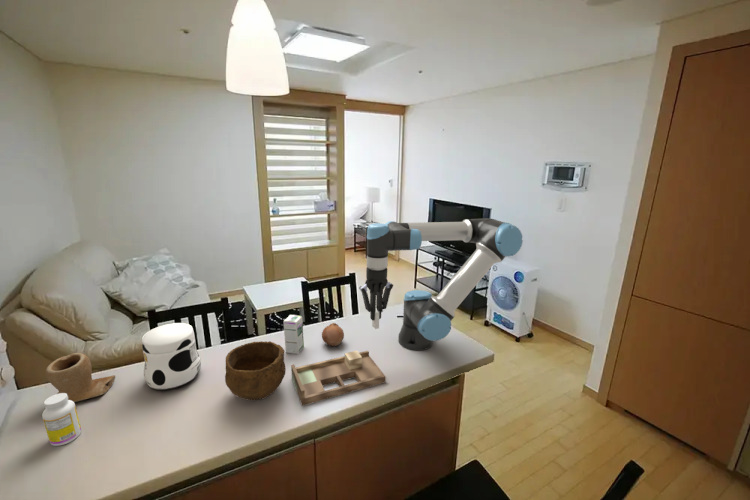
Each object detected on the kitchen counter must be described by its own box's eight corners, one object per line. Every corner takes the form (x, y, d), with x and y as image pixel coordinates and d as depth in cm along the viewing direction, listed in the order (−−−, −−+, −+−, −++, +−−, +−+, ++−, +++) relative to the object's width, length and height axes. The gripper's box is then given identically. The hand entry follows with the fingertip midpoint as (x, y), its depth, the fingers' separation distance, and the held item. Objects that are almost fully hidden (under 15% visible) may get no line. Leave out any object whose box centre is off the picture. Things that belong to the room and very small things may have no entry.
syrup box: (298, 354, 137) (297, 321, 133) (284, 352, 138) (283, 320, 134) (304, 347, 142) (302, 315, 138) (291, 345, 143) (289, 314, 140)
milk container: (139, 378, 120) (131, 333, 115) (191, 359, 132) (186, 317, 128) (154, 402, 109) (146, 352, 104) (209, 378, 121) (204, 332, 116)
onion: (332, 345, 149) (333, 322, 151) (348, 347, 144) (349, 323, 146) (316, 346, 142) (317, 322, 144) (332, 348, 136) (333, 323, 138)
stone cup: (45, 415, 102) (34, 372, 98) (61, 391, 113) (51, 351, 109) (107, 402, 108) (98, 360, 105) (117, 380, 119) (109, 342, 115)
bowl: (297, 382, 119) (295, 345, 116) (264, 419, 102) (260, 376, 98) (253, 371, 125) (250, 335, 122) (214, 404, 108) (209, 363, 104)
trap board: (367, 359, 134) (367, 347, 133) (385, 382, 121) (385, 368, 119) (291, 378, 122) (291, 364, 120) (301, 405, 108) (301, 391, 107)
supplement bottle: (63, 428, 97) (53, 390, 94) (87, 427, 98) (78, 389, 95) (43, 448, 91) (31, 407, 88) (69, 446, 91) (59, 406, 88)
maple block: (356, 359, 130) (356, 350, 129) (361, 366, 125) (362, 357, 124) (344, 362, 128) (344, 353, 127) (349, 369, 123) (349, 360, 122)
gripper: (388, 262, 127) (386, 319, 133) (356, 266, 121) (355, 325, 127) (398, 268, 120) (395, 328, 126) (364, 272, 115) (363, 335, 121)
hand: (375, 327), depth 127 cm, fingers closed
